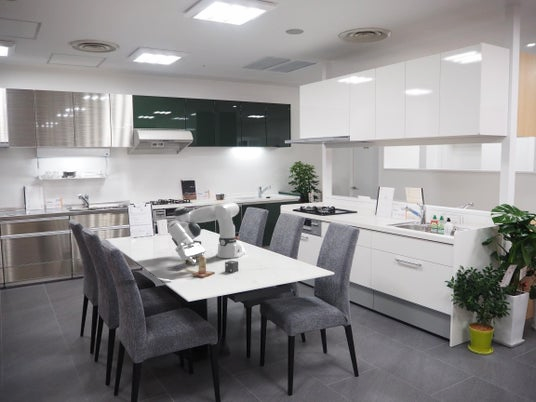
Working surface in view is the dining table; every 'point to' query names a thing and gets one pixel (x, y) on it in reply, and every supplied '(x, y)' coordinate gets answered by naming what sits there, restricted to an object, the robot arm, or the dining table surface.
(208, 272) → the game board
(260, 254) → the dining table surface
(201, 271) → the pawn
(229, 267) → the die
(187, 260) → the coffee box
